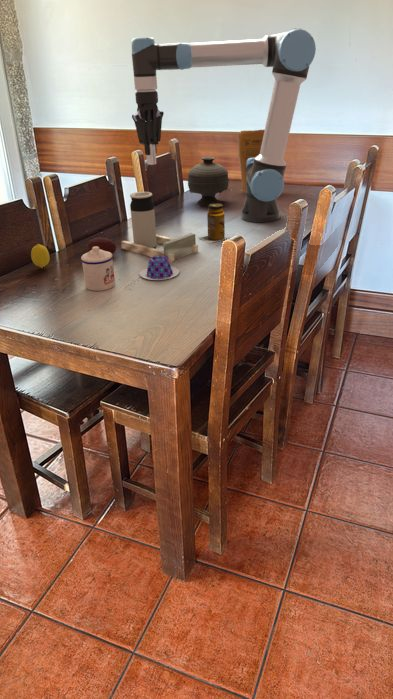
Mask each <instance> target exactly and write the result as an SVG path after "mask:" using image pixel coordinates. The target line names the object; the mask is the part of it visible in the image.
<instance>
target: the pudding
mask: <svg viewBox="0 0 393 699" xmlns="http://www.w3.org/2000/svg"><path fill="white" fill-rule="evenodd" d="M179 273H180V270H179V269H178V268H176V267H174V266H171V263H170V262H169V260H168V258H167V257H165V256H154V257H150V258H149V260H148V265H147V267H146V268H144V269H142V270H141V271H140V272H139V275H140V277H141V278H143V279H145V280H152V281H163V280H168V279H173V278H174V277H176V276H178V275H179Z"/></svg>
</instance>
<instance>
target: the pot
mask: <svg viewBox="0 0 393 699" xmlns="http://www.w3.org/2000/svg"><path fill="white" fill-rule="evenodd" d="M200 159H201V160H202V161H203V162H201V163H198V164H196V165H194V166H193V167H191V168H190V170H188V173H187V186H188V189H189V193H190V194H199V195H201V198H200V199H199V200H198V201H197V203H196V205H198V206H201V207H208V206H209V205H210V204H214V203H219V204H221V201H220V199H217V197H216V195H217V194H221V193H222V192H224V191H227V190H228V188H229V172H228V170H227V168H225V166H223V165H222V164H219V163H216V162H213V161H214V160H215V159H216V157H213V156H202V157H200Z"/></svg>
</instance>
